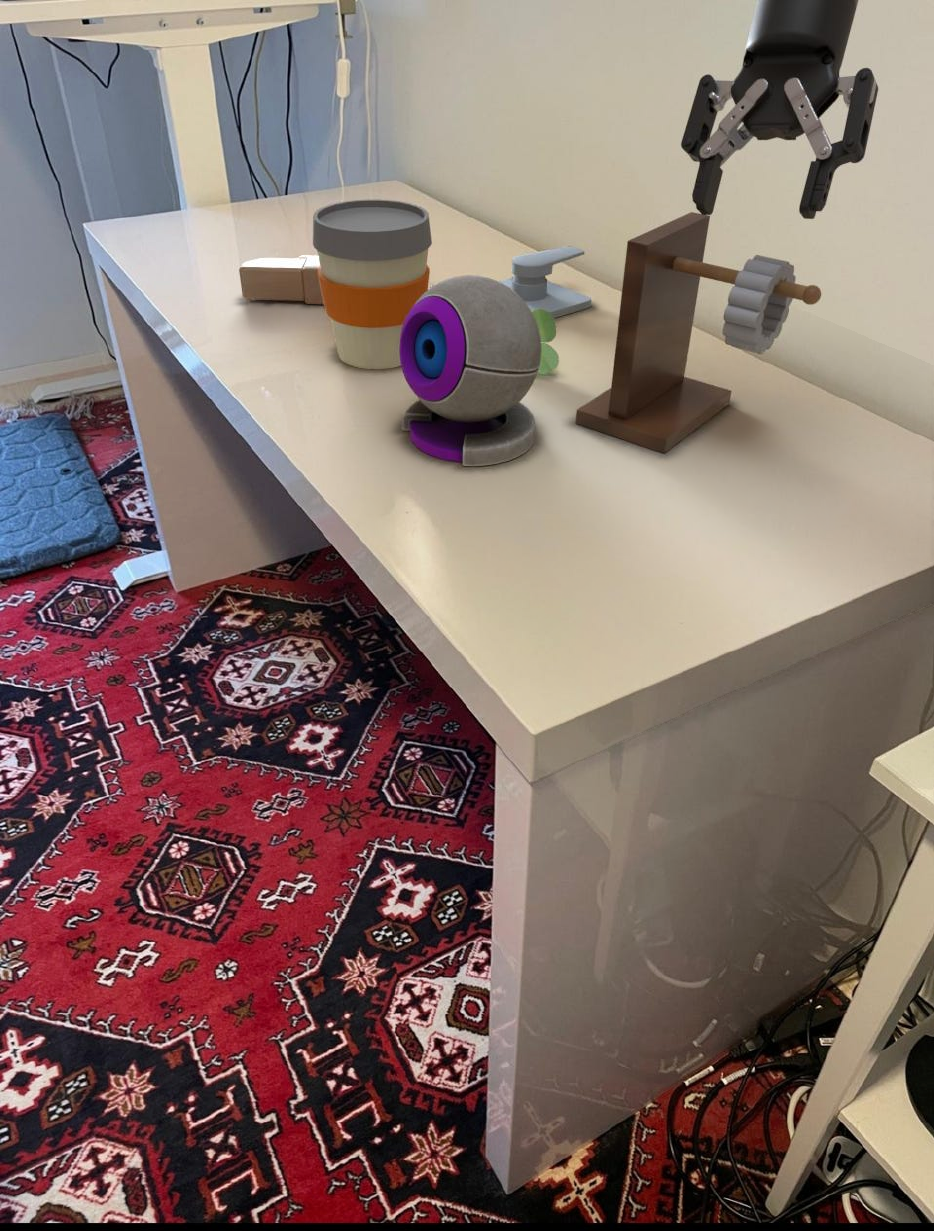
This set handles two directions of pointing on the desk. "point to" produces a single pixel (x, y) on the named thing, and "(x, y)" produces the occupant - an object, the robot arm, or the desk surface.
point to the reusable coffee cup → (371, 274)
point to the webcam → (470, 371)
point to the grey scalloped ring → (757, 304)
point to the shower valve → (545, 282)
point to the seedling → (546, 340)
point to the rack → (664, 339)
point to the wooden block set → (282, 279)
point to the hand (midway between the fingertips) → (752, 213)
